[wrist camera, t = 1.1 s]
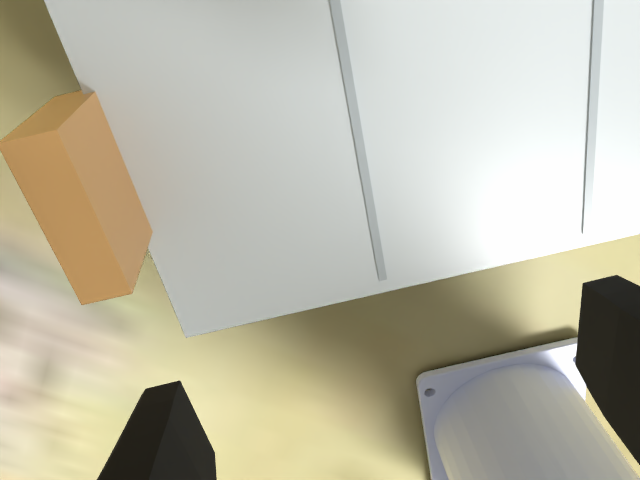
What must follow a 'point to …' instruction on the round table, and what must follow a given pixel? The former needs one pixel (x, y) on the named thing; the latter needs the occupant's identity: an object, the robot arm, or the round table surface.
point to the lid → (329, 145)
